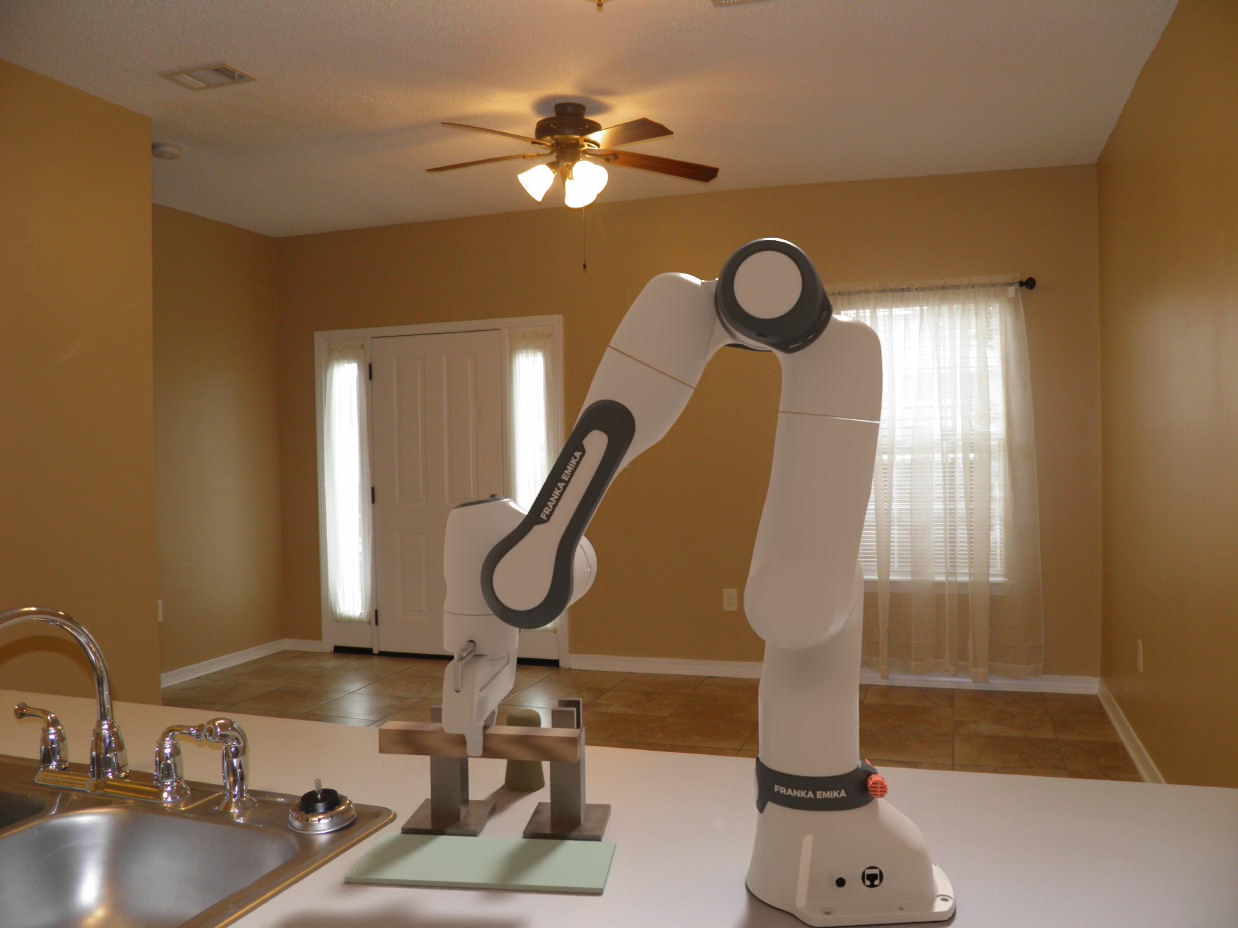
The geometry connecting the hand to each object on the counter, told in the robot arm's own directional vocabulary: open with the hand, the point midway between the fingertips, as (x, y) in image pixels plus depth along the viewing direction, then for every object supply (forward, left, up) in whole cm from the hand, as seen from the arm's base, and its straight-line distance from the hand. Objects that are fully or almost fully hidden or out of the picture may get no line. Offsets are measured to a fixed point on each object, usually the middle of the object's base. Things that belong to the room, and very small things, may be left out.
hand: (480, 747), depth 110 cm
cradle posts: (0, -12, -14) cm, 18 cm away
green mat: (0, 0, -14) cm, 14 cm away
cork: (+1, -26, -14) cm, 30 cm away
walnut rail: (0, 0, -1) cm, 1 cm away
